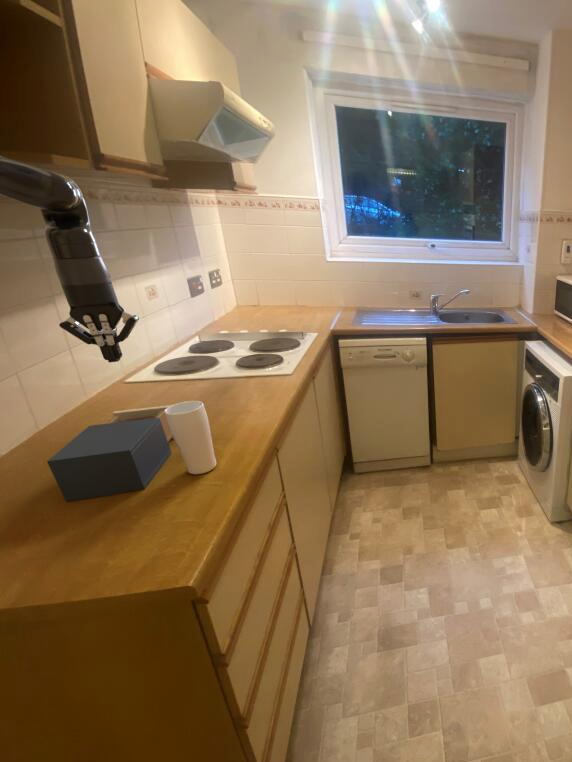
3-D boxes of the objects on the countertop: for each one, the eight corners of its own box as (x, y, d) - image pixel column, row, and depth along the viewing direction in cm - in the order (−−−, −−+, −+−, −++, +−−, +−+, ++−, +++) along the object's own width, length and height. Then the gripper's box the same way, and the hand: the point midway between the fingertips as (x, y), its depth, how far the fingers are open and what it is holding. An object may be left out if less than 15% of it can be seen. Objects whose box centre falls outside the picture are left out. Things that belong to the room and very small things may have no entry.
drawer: (132, 430, 109) (122, 404, 106) (186, 424, 112) (178, 398, 109) (95, 468, 93) (83, 438, 90) (159, 459, 97) (149, 430, 94)
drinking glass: (180, 480, 91) (158, 416, 85) (189, 463, 97) (169, 403, 91) (217, 473, 93) (199, 411, 88) (224, 457, 99) (206, 398, 93)
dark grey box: (104, 462, 97) (89, 425, 94) (171, 452, 101) (159, 417, 97) (66, 502, 84) (46, 461, 81) (144, 489, 88) (129, 450, 84)
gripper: (32, 285, 82) (67, 370, 88) (120, 281, 87) (147, 362, 94) (51, 279, 88) (82, 359, 95) (132, 275, 93) (156, 352, 100)
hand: (114, 360), depth 94 cm, fingers closed
